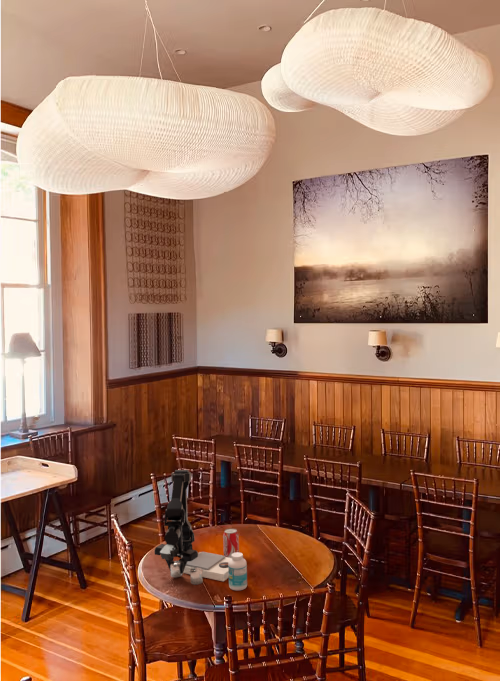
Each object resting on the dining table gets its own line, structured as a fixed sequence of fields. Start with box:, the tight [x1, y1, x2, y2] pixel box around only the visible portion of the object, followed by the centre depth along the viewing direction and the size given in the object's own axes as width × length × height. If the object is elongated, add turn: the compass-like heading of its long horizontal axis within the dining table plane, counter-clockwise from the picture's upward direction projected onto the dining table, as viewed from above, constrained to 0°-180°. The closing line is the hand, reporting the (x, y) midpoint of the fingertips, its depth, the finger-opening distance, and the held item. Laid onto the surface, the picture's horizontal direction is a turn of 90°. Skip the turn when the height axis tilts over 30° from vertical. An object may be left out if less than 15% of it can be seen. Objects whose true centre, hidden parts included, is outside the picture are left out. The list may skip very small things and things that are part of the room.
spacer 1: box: [170, 560, 184, 578], centre depth 258 cm, size 5×5×5 cm
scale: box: [183, 551, 232, 582], centre depth 265 cm, size 22×16×4 cm
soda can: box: [222, 528, 240, 558], centre depth 278 cm, size 7×7×12 cm
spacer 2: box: [189, 568, 204, 586], centre depth 253 cm, size 5×5×5 cm
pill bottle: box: [228, 551, 248, 591], centre depth 247 cm, size 8×7×14 cm
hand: (176, 572), depth 258 cm, fingers closed on spacer 1, 5 cm apart
